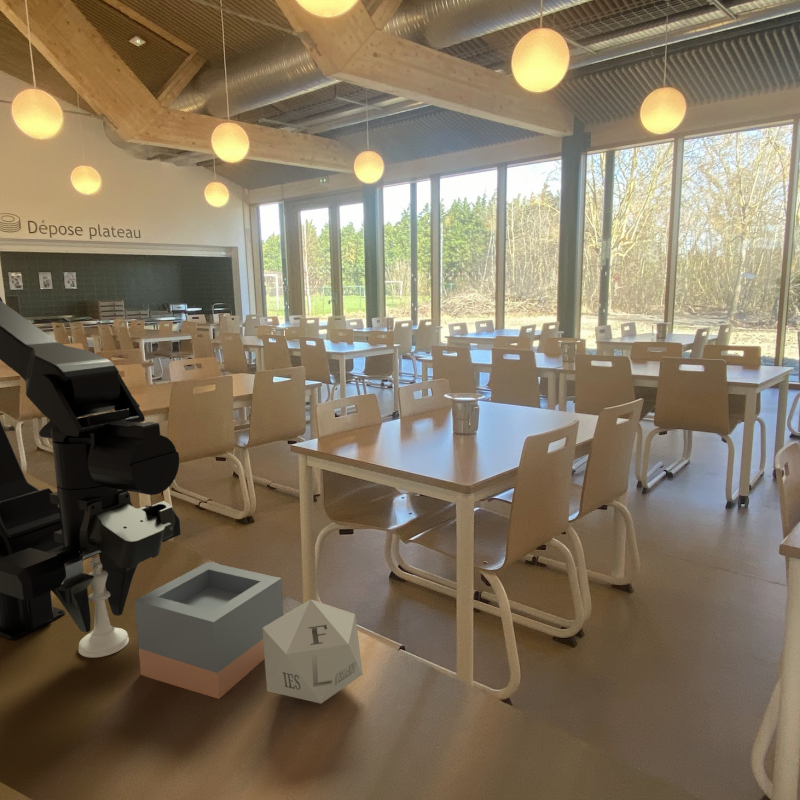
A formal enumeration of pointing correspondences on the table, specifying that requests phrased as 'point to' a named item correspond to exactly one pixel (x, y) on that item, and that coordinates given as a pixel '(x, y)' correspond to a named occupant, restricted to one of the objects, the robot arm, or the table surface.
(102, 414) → the robot arm
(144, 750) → the table surface
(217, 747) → the table surface
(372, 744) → the table surface
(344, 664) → the die
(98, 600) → the chess piece
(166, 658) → the grey planter box
